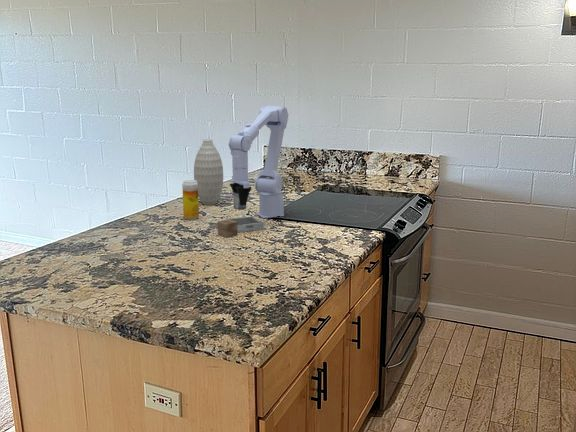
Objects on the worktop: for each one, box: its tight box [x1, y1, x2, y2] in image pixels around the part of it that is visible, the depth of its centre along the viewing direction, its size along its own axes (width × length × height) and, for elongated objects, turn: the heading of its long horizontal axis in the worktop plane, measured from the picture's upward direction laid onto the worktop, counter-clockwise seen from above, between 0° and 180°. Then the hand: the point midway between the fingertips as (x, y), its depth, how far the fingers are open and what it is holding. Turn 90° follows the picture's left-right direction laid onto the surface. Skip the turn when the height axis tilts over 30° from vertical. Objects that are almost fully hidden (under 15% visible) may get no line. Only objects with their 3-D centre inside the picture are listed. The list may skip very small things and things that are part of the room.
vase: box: [193, 138, 224, 206], centre depth 252 cm, size 13×13×28 cm
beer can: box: [181, 179, 200, 221], centre depth 229 cm, size 6×6×15 cm
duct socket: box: [225, 215, 264, 233], centre depth 218 cm, size 11×12×2 cm
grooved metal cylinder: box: [232, 191, 247, 211], centre depth 217 cm, size 5×5×6 cm
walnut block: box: [217, 218, 239, 239], centre depth 208 cm, size 5×5×5 cm
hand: (240, 203), depth 217 cm, fingers closed on grooved metal cylinder, 5 cm apart
